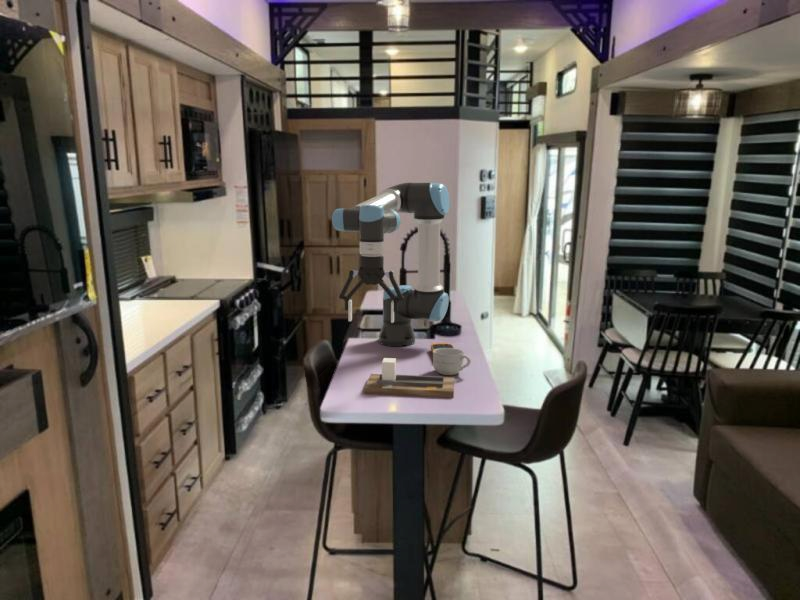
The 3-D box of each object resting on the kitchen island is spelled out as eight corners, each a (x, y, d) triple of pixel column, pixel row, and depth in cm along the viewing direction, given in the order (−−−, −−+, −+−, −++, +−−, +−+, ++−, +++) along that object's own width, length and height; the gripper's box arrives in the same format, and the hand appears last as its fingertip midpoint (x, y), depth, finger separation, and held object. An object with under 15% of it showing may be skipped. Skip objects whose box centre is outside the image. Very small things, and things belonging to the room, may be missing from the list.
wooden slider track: (370, 379, 198) (370, 370, 198) (454, 383, 196) (454, 373, 195) (364, 393, 186) (364, 383, 185) (453, 397, 183) (453, 387, 182)
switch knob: (383, 377, 193) (383, 357, 192) (395, 378, 193) (396, 358, 191) (382, 382, 189) (382, 362, 187) (394, 382, 188) (394, 362, 187)
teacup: (426, 372, 206) (426, 350, 204) (446, 365, 213) (447, 344, 212) (456, 382, 196) (457, 359, 195) (476, 375, 204) (477, 352, 202)
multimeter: (451, 350, 233) (451, 342, 232) (459, 364, 215) (460, 355, 215) (429, 350, 232) (430, 342, 231) (436, 365, 215) (436, 356, 214)
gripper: (329, 255, 180) (330, 322, 185) (410, 257, 179) (409, 325, 183) (334, 252, 188) (334, 317, 192) (412, 254, 186) (411, 319, 190)
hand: (371, 321), depth 187 cm, fingers open, 13 cm apart
